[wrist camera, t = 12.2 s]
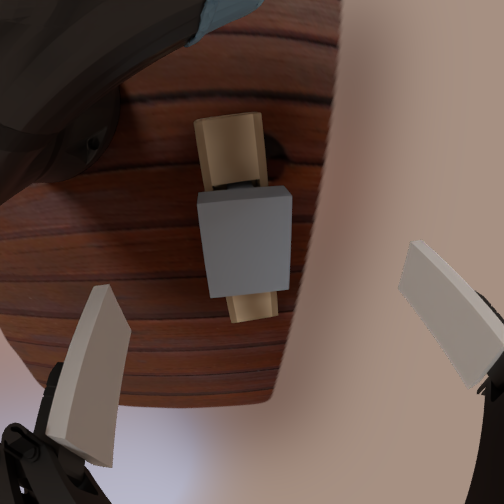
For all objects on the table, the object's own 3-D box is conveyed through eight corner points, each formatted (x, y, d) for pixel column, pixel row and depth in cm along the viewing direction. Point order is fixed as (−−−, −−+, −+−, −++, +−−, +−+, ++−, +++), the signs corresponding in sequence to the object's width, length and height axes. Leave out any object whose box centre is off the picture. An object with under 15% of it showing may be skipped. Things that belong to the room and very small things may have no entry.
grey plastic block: (209, 260, 33) (210, 298, 28) (200, 180, 28) (196, 203, 22) (275, 254, 34) (288, 289, 28) (275, 174, 29) (292, 196, 23)
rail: (229, 302, 38) (231, 323, 34) (196, 119, 25) (193, 122, 22) (272, 295, 38) (278, 315, 35) (254, 111, 26) (261, 113, 22)
